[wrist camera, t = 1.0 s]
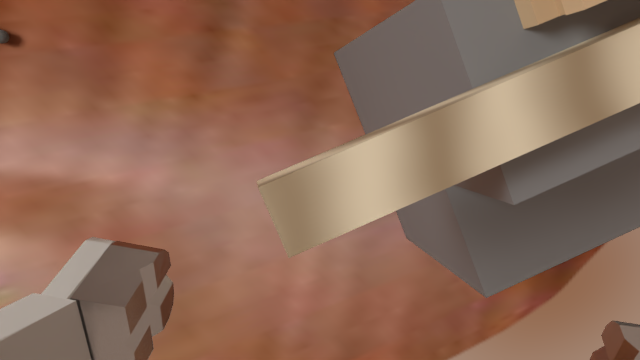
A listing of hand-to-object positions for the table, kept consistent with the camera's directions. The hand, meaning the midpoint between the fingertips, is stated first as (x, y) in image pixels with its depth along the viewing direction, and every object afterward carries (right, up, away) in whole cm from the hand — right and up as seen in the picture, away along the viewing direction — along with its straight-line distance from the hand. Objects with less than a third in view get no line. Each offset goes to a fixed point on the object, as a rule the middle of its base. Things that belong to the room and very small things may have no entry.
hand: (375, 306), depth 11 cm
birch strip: (+9, +6, +14) cm, 18 cm away
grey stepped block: (+11, +8, +40) cm, 43 cm away
